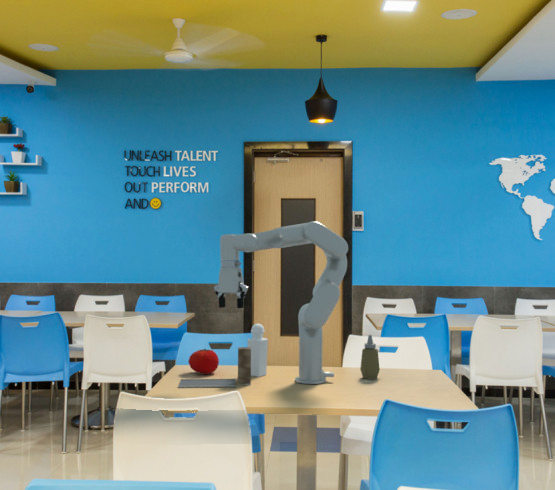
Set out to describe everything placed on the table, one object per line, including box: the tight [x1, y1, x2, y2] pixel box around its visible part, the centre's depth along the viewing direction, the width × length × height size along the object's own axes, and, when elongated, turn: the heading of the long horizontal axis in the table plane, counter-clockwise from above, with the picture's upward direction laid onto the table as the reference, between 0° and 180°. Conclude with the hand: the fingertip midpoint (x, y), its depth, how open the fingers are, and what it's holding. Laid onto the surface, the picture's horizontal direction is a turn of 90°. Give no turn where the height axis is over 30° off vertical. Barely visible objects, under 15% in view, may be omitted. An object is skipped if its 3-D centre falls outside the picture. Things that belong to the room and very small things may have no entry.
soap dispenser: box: [247, 323, 269, 378], centre depth 250 cm, size 6×6×22 cm
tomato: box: [188, 348, 220, 375], centre depth 253 cm, size 13×12×11 cm
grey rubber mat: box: [177, 378, 236, 389], centre depth 231 cm, size 22×14×1 cm, turn 94°
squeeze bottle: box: [360, 334, 381, 380], centre depth 245 cm, size 8×8×18 cm
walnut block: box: [237, 346, 252, 386], centre depth 232 cm, size 5×5×14 cm
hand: (231, 307), depth 234 cm, fingers open, 9 cm apart
